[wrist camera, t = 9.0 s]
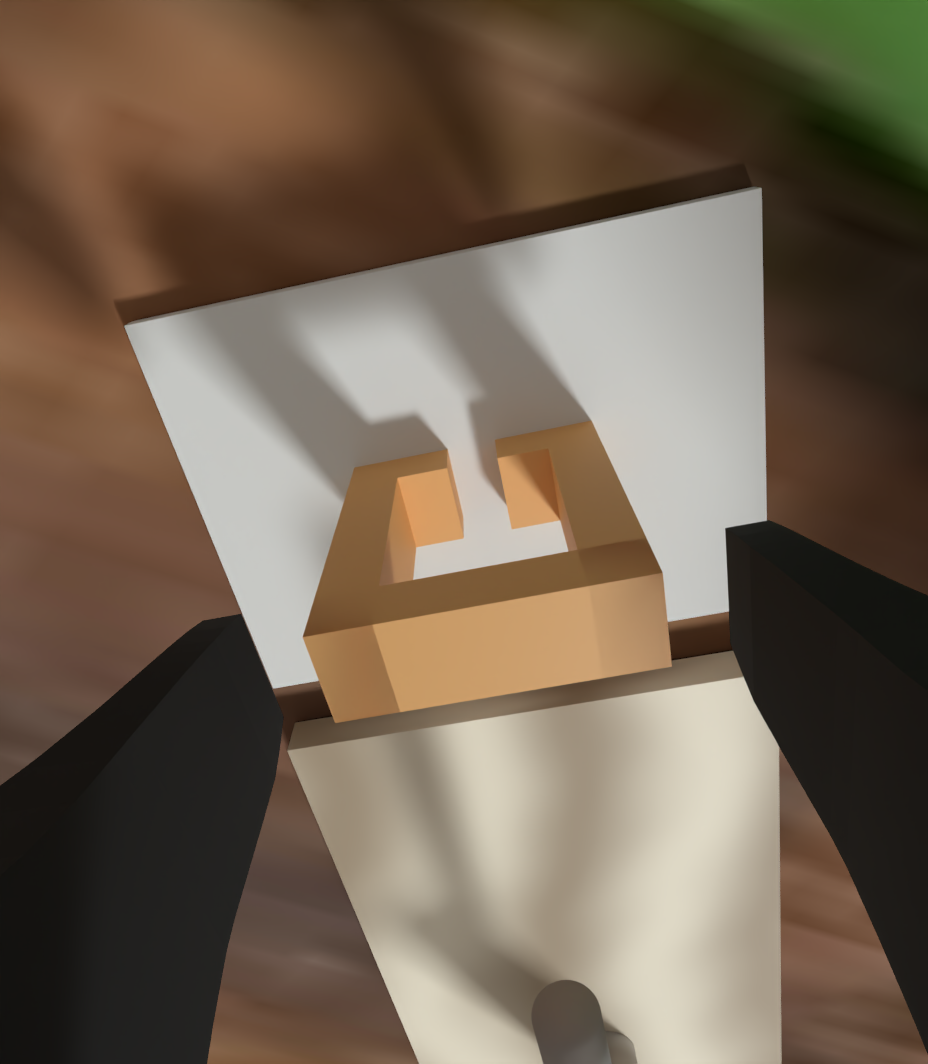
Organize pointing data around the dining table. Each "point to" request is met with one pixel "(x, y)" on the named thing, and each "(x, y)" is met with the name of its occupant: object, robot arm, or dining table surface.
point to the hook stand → (566, 867)
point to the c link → (485, 584)
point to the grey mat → (478, 399)
